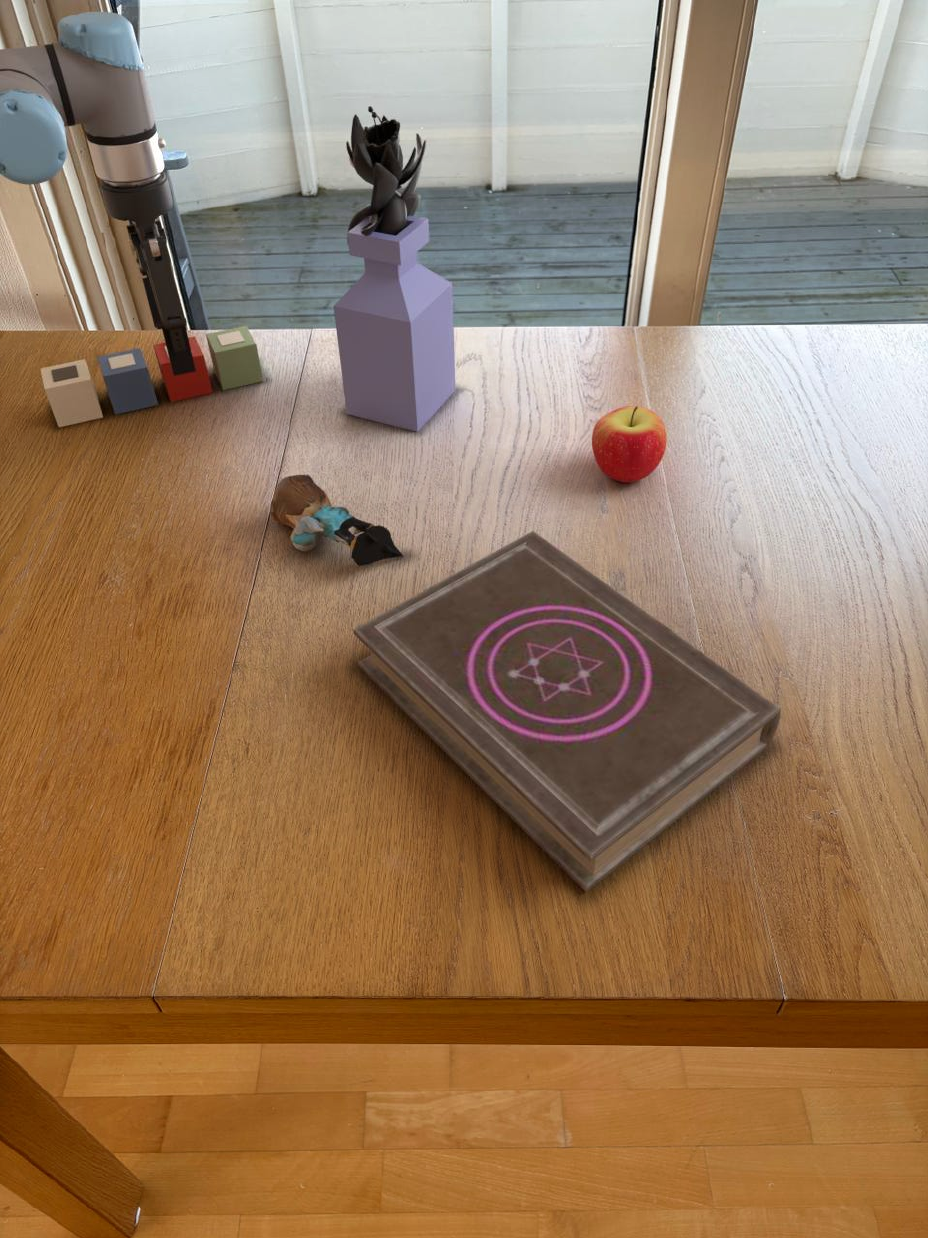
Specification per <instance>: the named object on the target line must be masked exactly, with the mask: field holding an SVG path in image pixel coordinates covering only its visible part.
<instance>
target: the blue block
mask: <svg viewBox="0 0 928 1238" xmlns="http://www.w3.org/2000/svg"><path fill="white" fill-rule="evenodd" d="M96 358H97V360H98V365H99V369H100V371H101V372H100V373H101V376H102V379H103V382H104V384H105V385H104V386H105V388H106V391H107V394H108V398H109V400H110V403H111V406H112V410H113V413H114V415H120V414H124V413H128V412H129V413H130V412H133V411H138V410H142V409H147V408H152V407H156V406H158V405H159V402H158V399H157V396H156V392H155V388H154V385H153V381H152V378H151V375H150V371H149V368H148V365H147V363H146V359H145V355H144V354H143V351H142V348H141V347H137V348H131V349H128V350H122V351H119V352H112V353H108V354H104V355H99V356H97V357H96Z"/></svg>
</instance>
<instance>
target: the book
mask: <svg viewBox="0 0 928 1238" xmlns="http://www.w3.org/2000/svg"><path fill="white" fill-rule="evenodd" d="M352 634H353V635H354V636H355V637H356V638H357V639H358V640H359V641H360V642H361V643H362V644H364V645H365V647H367V648H368V649H369V650H370V654H369V655H368V656H366V657H364V658H363V659H360V660H359V661H357V666H358V667H359V669H361V670H362V671H363V673H364V674H366V676H368V677H369V678H370V679H371V680H372V681H373V682H374V683H375V684H376V685H377V686H378V687H379V688H380V689H381V691H383V692H384V693H385V694H386V696H388V697H389V698H390V699H391V700H392V701H393V702H394V703H395V704H396V705H397V706H398V707H399V708H400V709H401V710H402V711H403V712H404V713H405V714H406V715H407V716H408V717H409V718H410V719H411V720H412V721H413V722H414V723H415V724H416V725H417V726H419V728H420V729H421V730H422V731H423V732H424V733H425V734H426V735H428V737H429V738H430V739H431V740H432V741H433V742H434V743H435V744H436V745H437V746H438V747H440V749H441V750H442V751H443V752H445V754H446V755H447V756H449V758H450V759H451V760H452V761H453V762H454V763H455V764H456V765H457V766H459V767H460V769H461V770H462V771H463V772H464V773H466V775H467V776H469V777H470V779H471V780H473V782H474V783H476V785H477V786H479V787H480V789H481V790H482V791H484V792H485V794H486V795H488V796H489V797H490V799H491V800H493V802H495V803H496V805H498V807H500V809H502V810H503V811H504V812H505V814H507V815H508V816H509V818H511V819H512V820H513V822H514V823H516V824H517V825H518V826H519V828H521V829H522V830H523V831H524V832H525V833H526V834H527V835H528V836H529V837H530V839H532V840H533V841H534V842H535V843H536V844H537V846H539V847H540V848H541V849H542V850H543V851H544V852H545V854H547V855H548V856H549V857H550V858H551V859H552V860H553V862H555V864H557V865H558V866H559V867H560V868H561V869H562V870H563V871H564V872H565V873H566V874H567V875H568V876H569V877H570V878H571V879H572V881H574V882H575V883H576V884H577V885H578V886H579V887H580V888H581V889H582V890H583V891H584V892H585V893H587V892H589V891H590V890H592V888H594V887H595V886H596V885H598V883H600V882H601V881H602V880H604V879H605V878H606V877H607V876H609V875H610V874H611V873H612V872H614V871H615V870H616V869H618V868H619V867H620V866H621V865H623V864H624V863H625V862H626V861H627V860H628V859H630V858H632V857H633V856H634V855H635V854H636V853H637V852H638V851H640V850H642V848H643V847H645V846H646V845H647V844H648V843H650V842H651V841H652V840H653V839H655V838H656V837H657V836H659V835H660V834H661V833H663V831H664V830H666V829H667V828H669V827H670V826H671V825H672V824H674V823H675V822H676V821H677V820H679V819H680V818H681V817H682V816H684V815H685V814H686V813H687V812H688V811H690V810H691V809H692V808H693V807H695V806H696V805H697V804H698V803H700V802H701V801H702V800H703V799H704V798H706V797H707V796H709V795H710V794H711V793H712V792H713V791H715V790H716V789H717V788H719V787H720V786H721V785H722V784H724V783H725V782H726V781H727V780H728V779H730V778H731V777H732V776H733V775H734V774H736V773H737V772H738V771H740V770H741V769H742V768H743V767H745V766H746V765H747V764H748V763H749V762H751V761H752V760H754V759H755V758H756V757H757V756H758V755H760V754H761V753H762V752H763V751H764V750H766V749H767V748H768V747H770V745H771V742H772V740H773V739H774V737H775V734H776V732H777V730H778V727H779V725H780V720H781V717H782V715H781V713H782V710H781V709H782V708H781V707H779V706H778V705H777V704H775V703H774V702H773V701H771V700H770V699H768V698H767V697H765V696H764V695H763V694H762V693H760V692H759V691H757V690H756V689H755V688H753V687H752V686H750V685H749V684H747V683H746V682H745V681H743V680H742V679H741V678H739V677H738V676H736V675H735V674H733V673H732V672H731V671H730V670H728V669H726V668H725V667H724V666H723V665H721V664H720V663H718V662H717V661H715V660H714V659H713V658H711V657H710V656H709V655H707V654H706V653H705V652H703V651H702V650H700V649H699V648H698V647H696V646H695V645H693V644H692V643H690V642H689V641H687V640H686V639H685V638H683V637H682V636H680V635H679V634H678V633H677V632H676V631H673V630H672V628H669V627H668V626H667V625H666V624H664V623H662V622H661V621H659V620H658V618H656V617H654V616H652V615H651V614H650V613H648V612H647V611H646V610H644V609H643V608H642V607H640V605H638V604H636V603H635V602H633V601H632V600H631V599H629V598H628V597H626V596H625V595H624V594H622V593H621V592H619V591H618V590H617V589H615V588H614V587H613V586H611V585H610V584H608V583H607V582H605V581H604V580H602V579H601V578H600V577H599V576H597V575H595V574H594V573H593V572H592V571H590V570H588V569H587V568H586V567H585V566H583V565H582V564H580V563H579V562H578V561H576V560H575V559H573V558H572V557H571V556H570V555H568V554H567V553H565V552H564V551H562V550H561V549H559V548H558V547H557V546H555V545H554V544H552V543H551V542H550V541H549V540H547V539H546V538H544V537H543V536H541V535H540V534H539V533H538V532H536V531H534V530H532V531H530V532H528V533H526V534H525V535H523V536H520V537H519V538H517V539H515V540H513V541H511V542H510V543H508V544H506V545H504V546H502V547H500V548H499V549H497V550H495V551H493V552H492V553H490V554H487V555H486V556H485V557H483V558H481V559H479V560H477V561H475V562H473V563H472V564H470V565H468V566H466V567H464V568H463V569H461V570H459V571H457V572H455V573H453V574H452V575H450V576H448V577H446V578H444V579H442V580H441V581H439V582H437V583H435V584H434V585H432V586H430V587H428V588H426V589H424V590H423V591H420V592H419V593H417V594H415V595H413V596H412V597H410V598H407V599H406V600H404V601H402V602H400V603H399V604H397V605H395V606H394V607H391V608H390V609H388V610H386V611H384V612H383V613H381V614H379V615H377V616H375V617H374V618H372V619H370V620H368V621H366V622H364V623H363V624H361V625H359V626H358V627H355V628H353V629H352Z"/></svg>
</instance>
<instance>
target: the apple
mask: <svg viewBox="0 0 928 1238" xmlns="http://www.w3.org/2000/svg"><path fill="white" fill-rule="evenodd" d="M667 441H668V440H667V430H666V426H665V424H664V421H663V420H662V418H661V417H660V415H659V413H656V412H655V411H654V410H652V409H649V408H647V407H643V406H638V405H626V406H622V407H619V408H616V409H614V410H612V411H610V412H608V413H606V414H605V415H603V416H601V418H599V419H598V420H597V421H596V422H595V425H594V427H593V429H592V434H591V449H592V453H593V456H594V459H595V462H596V464H597V466H598V468H599V469H600V471H601V472H602V473H603V474H604V475H605V476H607V477H608V478H610V479H612V480H614V481H617V482H618V481H619V482H620V483H621V482H622V483H635V482H639V481H641V480H644V479H645V478H647V477H648V476H650V475H651V474H652V473H653V472H654V471H656V469H657V468H658V466H659V465H660V464H661V462H662V460H663V458H664V455H665V452H666V448H667Z"/></svg>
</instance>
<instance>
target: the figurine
mask: <svg viewBox="0 0 928 1238" xmlns="http://www.w3.org/2000/svg"><path fill="white" fill-rule="evenodd" d="M269 509H270V510H269V511H270V512H269V513H270V518H271V520H273V521H274V522H276V523H277V524H281V525H286V526H289V527H290V528H292V529H293V530H292V532H291V535H290V541H291V544H292V545H293V546H294V548H295V549H297V550H298V551H302V552H309V551H311V550H312V549H314V548H315V547H316V546H317V543H318V540H319V537H324V538H329V539H331V540H333V541H335V542H336V543H341V544H345V545H347V546H348V547H349V549H350V550H351V555H350V559H352V560H353V562H354V564H355V566H356V567H364V566H368V565H371V564H374V563H377V562H380V561H383V560H388V559H394V558H395V559H396V558H404V557H405V555H403V553H402V552H401V551H400V550H399V548H398V547H397V546H396V544H395V543H394V540H393V537H392V534H391V531H390V530H389V529H388V528H387V527H385V526H383V525H380V524H377V525H375V524H373V523H371V522H367V521H364V520H361V519H359V518H357V517H355V516H354V515H352V514H350V511H349V509H347V507H344V506H336V507H335V506H332V503H331V500H330V498H329V497H328V494H327V493H326V491H325V490H323V488H321V487H320V486H319V485H317V484H316V483H315V480H313V478H312V477H311V475H309V474H295V475H294V474H293V475H289V476H285V477H284V478H282V479H281V480H280V481H279V482H278V484H277V486H276V488H275V490H274V493H273V496H272V499H271V500H270V506H269ZM357 534H358V535H357Z"/></svg>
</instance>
